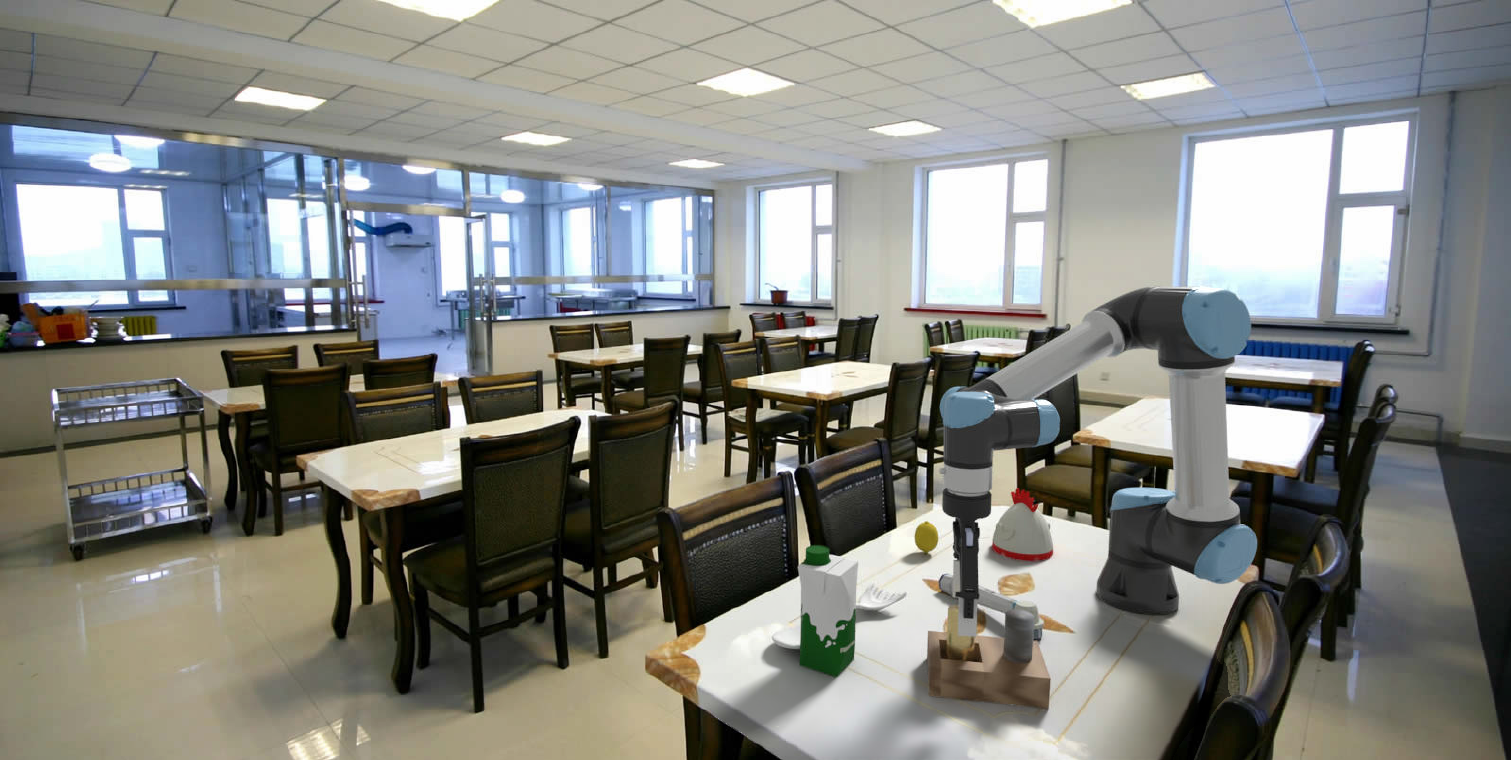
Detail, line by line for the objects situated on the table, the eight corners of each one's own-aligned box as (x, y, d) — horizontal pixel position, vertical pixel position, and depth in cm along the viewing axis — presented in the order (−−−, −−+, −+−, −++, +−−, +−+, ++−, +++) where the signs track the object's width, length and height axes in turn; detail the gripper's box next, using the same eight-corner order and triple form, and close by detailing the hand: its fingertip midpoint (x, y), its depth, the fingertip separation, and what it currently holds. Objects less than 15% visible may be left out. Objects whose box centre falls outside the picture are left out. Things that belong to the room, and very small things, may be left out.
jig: (1035, 668, 126) (1039, 601, 124) (1048, 708, 114) (1053, 635, 112) (927, 657, 129) (929, 592, 127) (928, 695, 118) (931, 624, 116)
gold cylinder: (971, 673, 124) (974, 605, 122) (973, 687, 120) (977, 617, 118) (944, 670, 125) (947, 603, 123) (945, 684, 121) (948, 615, 119)
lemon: (940, 557, 175) (941, 525, 174) (916, 557, 175) (917, 525, 174) (934, 549, 180) (935, 517, 179) (912, 549, 180) (912, 517, 179)
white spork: (909, 606, 148) (908, 590, 147) (798, 663, 126) (797, 644, 126) (873, 596, 154) (872, 580, 154) (762, 648, 132) (761, 629, 132)
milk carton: (815, 645, 134) (816, 538, 131) (861, 658, 129) (864, 548, 126) (792, 666, 126) (792, 554, 123) (840, 681, 122) (842, 565, 119)
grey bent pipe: (954, 570, 158) (1049, 599, 136) (955, 601, 158) (1051, 635, 136) (935, 574, 156) (1028, 605, 134) (937, 606, 156) (1030, 642, 134)
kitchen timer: (1023, 537, 189) (1026, 480, 187) (1065, 555, 176) (1069, 494, 174) (980, 545, 183) (982, 486, 181) (1020, 564, 171) (1023, 502, 169)
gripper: (939, 467, 131) (937, 581, 134) (946, 513, 106) (943, 651, 110) (983, 469, 129) (980, 584, 132) (1001, 516, 105) (996, 655, 108)
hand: (963, 615), depth 121 cm, fingers open, 13 cm apart
